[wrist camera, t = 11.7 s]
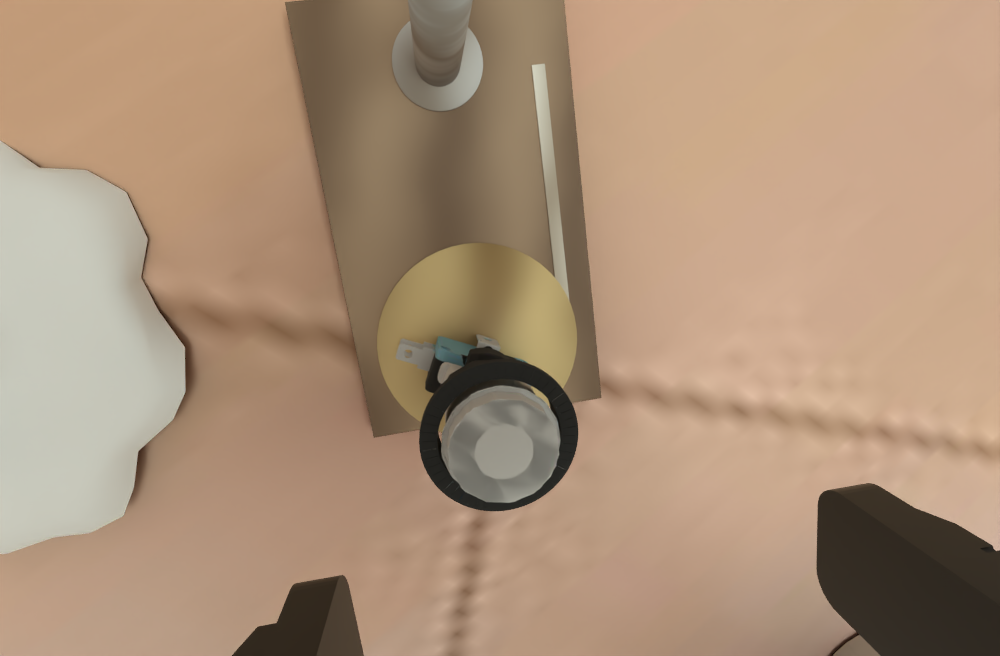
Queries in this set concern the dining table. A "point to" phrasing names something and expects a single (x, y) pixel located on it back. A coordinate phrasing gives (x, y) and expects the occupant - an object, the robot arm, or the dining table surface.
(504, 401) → the push button
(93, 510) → the figurine
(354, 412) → the dining table surface
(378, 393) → the gauge board
